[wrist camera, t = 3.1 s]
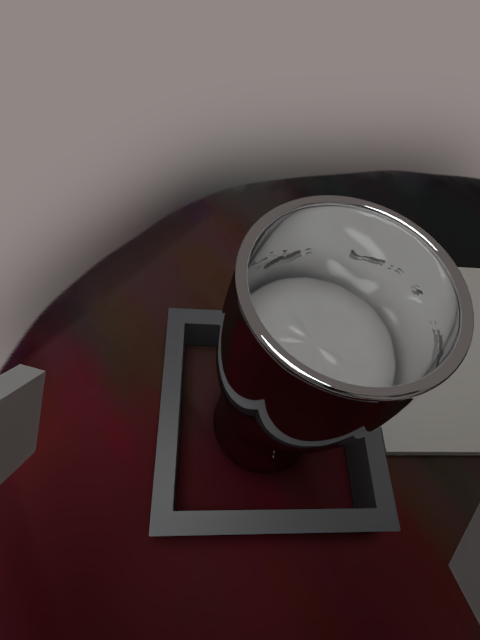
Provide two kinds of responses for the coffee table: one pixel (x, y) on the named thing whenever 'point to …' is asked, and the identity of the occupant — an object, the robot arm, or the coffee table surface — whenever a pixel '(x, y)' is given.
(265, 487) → the coffee table surface
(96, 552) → the coffee table surface
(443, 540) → the coffee table surface
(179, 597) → the coffee table surface
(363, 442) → the holder
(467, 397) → the board
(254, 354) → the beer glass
